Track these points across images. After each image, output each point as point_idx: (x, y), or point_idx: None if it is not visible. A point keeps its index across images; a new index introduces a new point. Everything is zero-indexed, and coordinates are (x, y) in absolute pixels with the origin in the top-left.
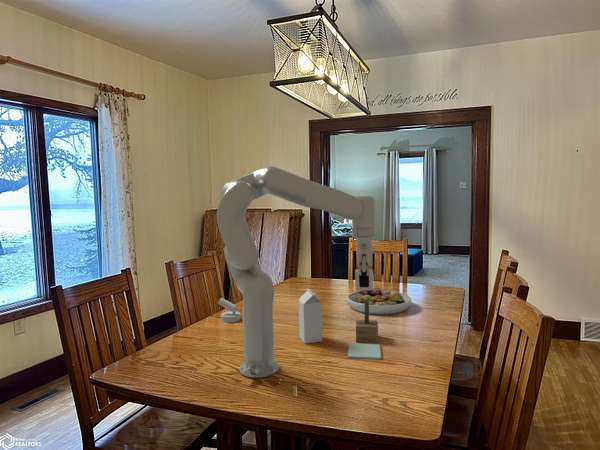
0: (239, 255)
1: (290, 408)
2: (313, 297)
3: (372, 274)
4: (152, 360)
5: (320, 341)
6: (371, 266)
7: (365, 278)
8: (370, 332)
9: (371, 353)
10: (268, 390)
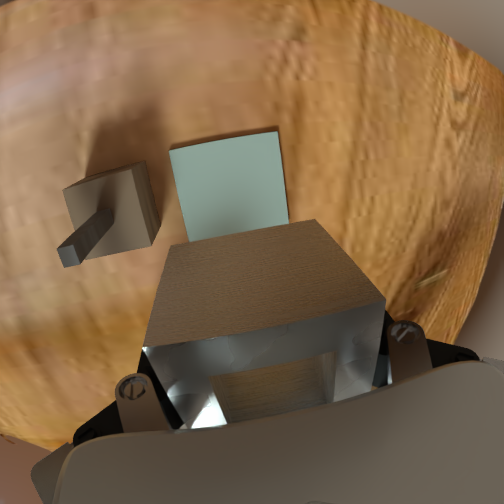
0: None
1: (471, 264)
2: (185, 425)
3: (375, 295)
4: None
5: None
6: (473, 360)
7: (390, 324)
8: (143, 190)
9: (253, 162)
10: (430, 312)
